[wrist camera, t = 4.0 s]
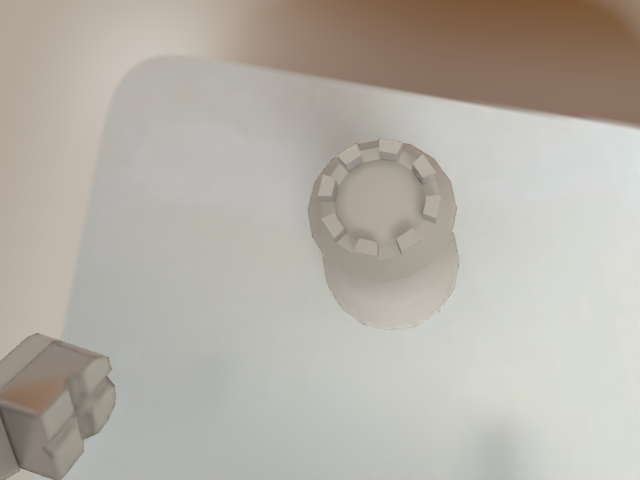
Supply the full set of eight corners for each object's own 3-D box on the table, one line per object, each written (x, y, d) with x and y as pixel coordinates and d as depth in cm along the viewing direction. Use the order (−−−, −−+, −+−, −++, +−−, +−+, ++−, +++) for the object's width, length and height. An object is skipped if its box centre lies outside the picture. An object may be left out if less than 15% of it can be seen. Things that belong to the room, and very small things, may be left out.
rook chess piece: (358, 184, 20) (325, 69, 12) (478, 231, 19) (525, 137, 11) (305, 298, 19) (237, 251, 12) (426, 353, 18) (438, 342, 11)
